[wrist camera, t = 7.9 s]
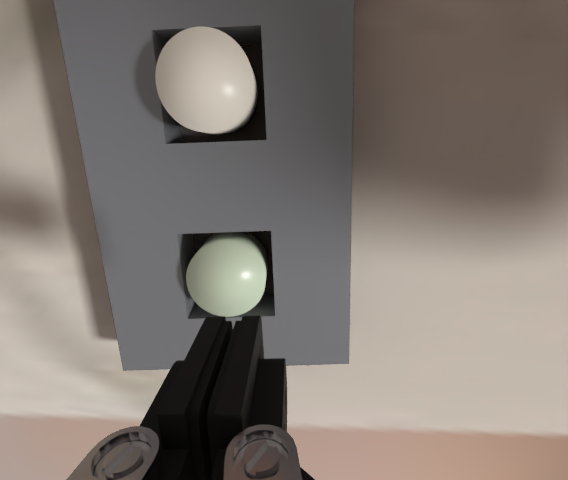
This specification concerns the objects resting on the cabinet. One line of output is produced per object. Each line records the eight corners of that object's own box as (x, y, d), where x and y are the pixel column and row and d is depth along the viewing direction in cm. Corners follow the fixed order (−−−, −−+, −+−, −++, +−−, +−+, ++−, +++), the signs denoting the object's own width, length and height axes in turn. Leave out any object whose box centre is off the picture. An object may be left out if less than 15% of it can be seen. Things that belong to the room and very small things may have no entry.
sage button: (266, 228, 21) (263, 241, 18) (269, 293, 22) (267, 315, 19) (195, 230, 21) (181, 244, 18) (202, 295, 22) (190, 318, 19)
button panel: (346, -293, 15) (360, -394, 12) (341, 337, 24) (348, 363, 21) (39, -276, 16) (-18, -373, 13) (142, 343, 24) (123, 370, 21)
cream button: (255, 44, 18) (249, 24, 15) (260, 133, 19) (255, 130, 16) (171, 47, 18) (148, 28, 15) (181, 136, 19) (162, 134, 16)
